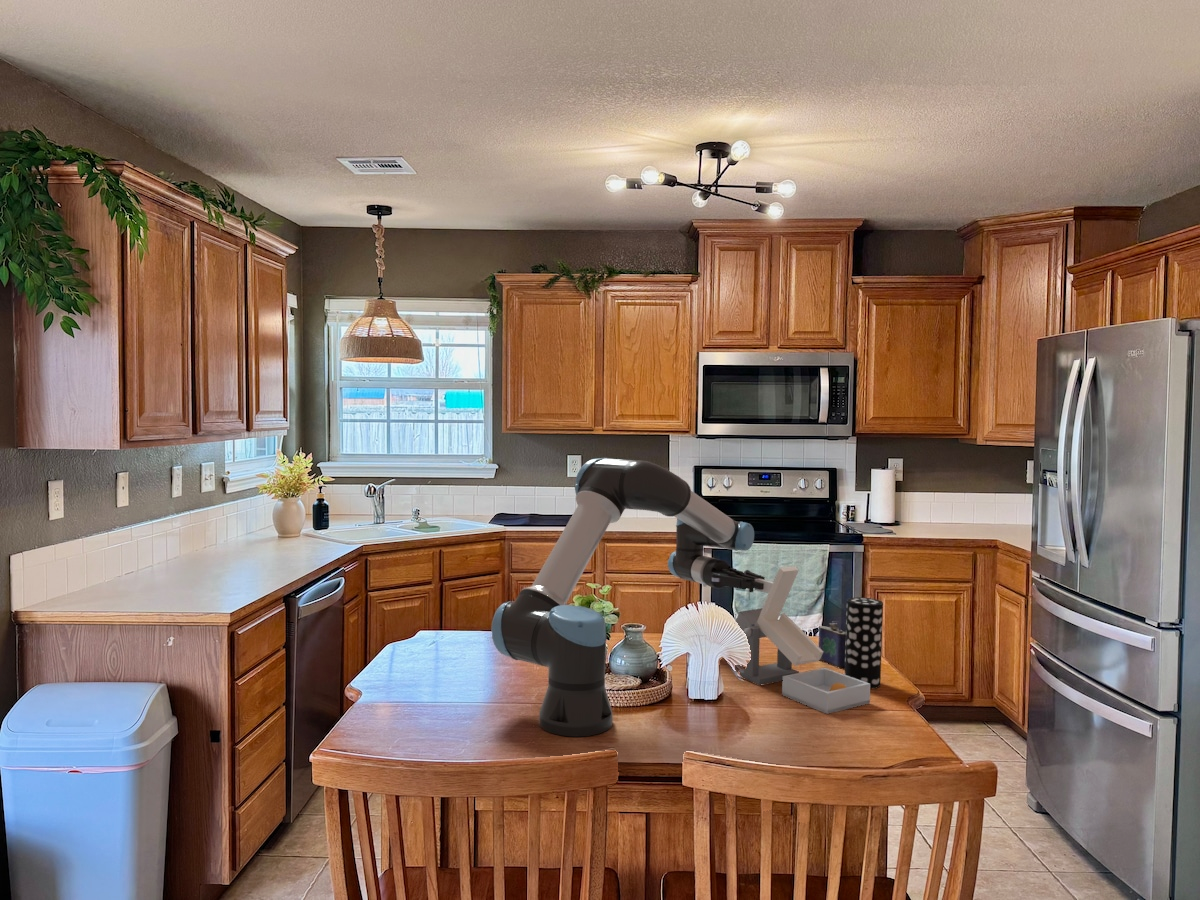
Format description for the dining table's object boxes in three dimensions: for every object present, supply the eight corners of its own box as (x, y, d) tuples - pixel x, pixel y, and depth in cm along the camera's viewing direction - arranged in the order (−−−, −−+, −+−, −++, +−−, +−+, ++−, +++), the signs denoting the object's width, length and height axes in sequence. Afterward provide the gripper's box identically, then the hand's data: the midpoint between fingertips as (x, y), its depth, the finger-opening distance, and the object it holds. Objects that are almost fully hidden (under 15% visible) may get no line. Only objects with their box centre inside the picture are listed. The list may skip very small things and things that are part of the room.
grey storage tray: (869, 703, 189) (870, 683, 189) (827, 714, 182) (827, 693, 182) (823, 686, 201) (824, 667, 201) (782, 695, 194) (782, 676, 193)
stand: (801, 676, 208) (802, 624, 207) (756, 686, 200) (758, 632, 199) (777, 668, 214) (779, 617, 214) (734, 677, 207) (735, 624, 206)
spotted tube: (882, 690, 199) (885, 606, 198) (845, 687, 200) (848, 603, 200) (878, 679, 207) (880, 598, 206) (842, 676, 209) (845, 596, 208)
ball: (849, 681, 187) (835, 678, 191) (837, 689, 185) (824, 686, 189) (853, 698, 188) (840, 695, 191) (842, 706, 186) (828, 702, 189)
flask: (815, 659, 223) (817, 619, 222) (824, 658, 224) (825, 618, 224) (841, 669, 215) (842, 627, 214) (849, 667, 216) (851, 626, 216)
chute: (811, 679, 201) (845, 606, 192) (785, 685, 196) (819, 610, 187) (757, 623, 216) (786, 553, 207) (732, 627, 212) (761, 556, 203)
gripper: (730, 583, 229) (794, 601, 209) (692, 588, 222) (755, 607, 202) (730, 556, 228) (794, 571, 208) (693, 560, 221) (756, 576, 201)
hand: (775, 588), depth 205 cm, fingers closed
